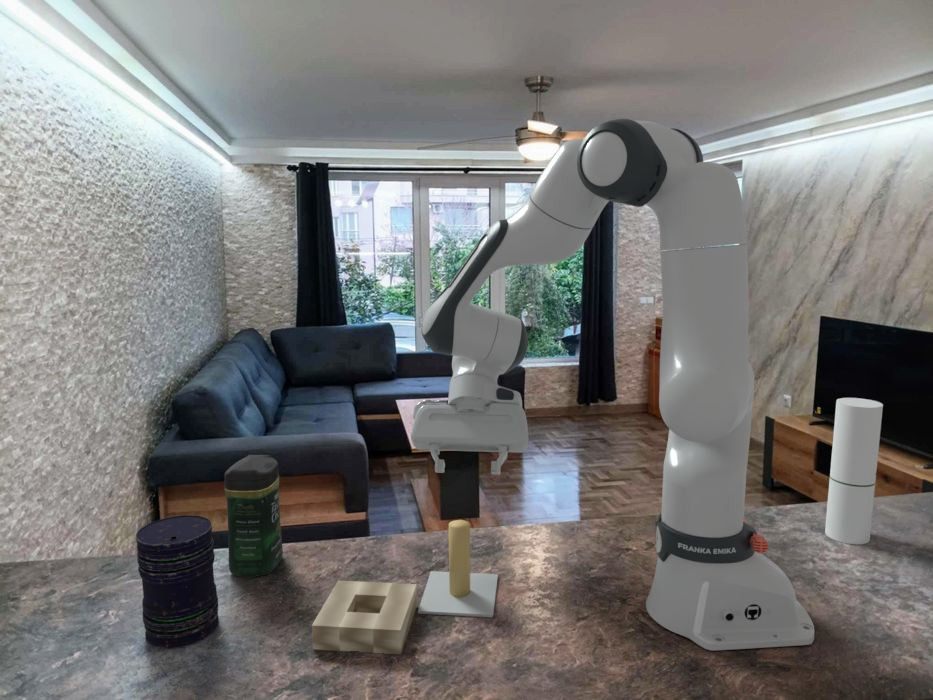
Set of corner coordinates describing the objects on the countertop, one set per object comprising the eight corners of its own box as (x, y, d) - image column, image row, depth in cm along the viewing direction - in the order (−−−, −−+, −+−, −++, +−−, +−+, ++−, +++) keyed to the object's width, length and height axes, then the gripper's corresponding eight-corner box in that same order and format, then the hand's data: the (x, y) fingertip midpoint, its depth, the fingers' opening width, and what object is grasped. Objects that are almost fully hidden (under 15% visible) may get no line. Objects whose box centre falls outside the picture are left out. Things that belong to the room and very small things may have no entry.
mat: (497, 576, 111) (497, 574, 111) (492, 617, 99) (492, 614, 99) (430, 573, 112) (430, 571, 112) (418, 613, 100) (417, 610, 100)
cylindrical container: (870, 532, 126) (883, 400, 122) (868, 547, 120) (882, 409, 116) (826, 524, 130) (838, 396, 125) (823, 538, 124) (834, 404, 119)
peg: (471, 586, 107) (470, 520, 105) (469, 597, 104) (468, 529, 102) (451, 585, 107) (450, 519, 105) (448, 596, 104) (447, 528, 102)
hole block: (417, 605, 102) (416, 584, 102) (400, 654, 90) (400, 630, 90) (338, 601, 103) (337, 580, 103) (313, 649, 92) (311, 625, 91)
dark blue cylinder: (147, 617, 100) (138, 520, 97) (219, 604, 103) (212, 510, 101) (141, 656, 90) (131, 550, 88) (220, 640, 94) (212, 538, 91)
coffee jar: (272, 580, 110) (265, 470, 107) (223, 579, 110) (215, 469, 107) (289, 552, 120) (283, 450, 117) (244, 552, 120) (237, 450, 117)
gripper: (412, 390, 120) (403, 462, 113) (529, 392, 118) (527, 465, 110) (417, 408, 126) (408, 478, 118) (529, 411, 123) (527, 482, 115)
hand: (467, 472), depth 114 cm, fingers open, 8 cm apart
